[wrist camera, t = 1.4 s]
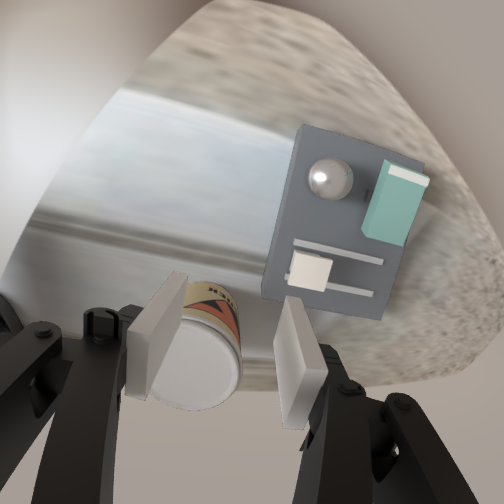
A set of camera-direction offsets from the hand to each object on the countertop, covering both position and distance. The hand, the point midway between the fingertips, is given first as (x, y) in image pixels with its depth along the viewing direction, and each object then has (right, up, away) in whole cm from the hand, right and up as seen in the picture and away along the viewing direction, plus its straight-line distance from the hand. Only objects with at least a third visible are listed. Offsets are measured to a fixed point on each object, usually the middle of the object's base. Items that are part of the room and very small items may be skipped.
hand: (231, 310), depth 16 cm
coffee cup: (-4, -4, +20) cm, 21 cm away
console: (+10, +6, +18) cm, 21 cm away
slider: (+6, +2, +14) cm, 16 cm away
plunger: (+8, +10, +13) cm, 18 cm away
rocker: (+14, +7, +11) cm, 19 cm away
